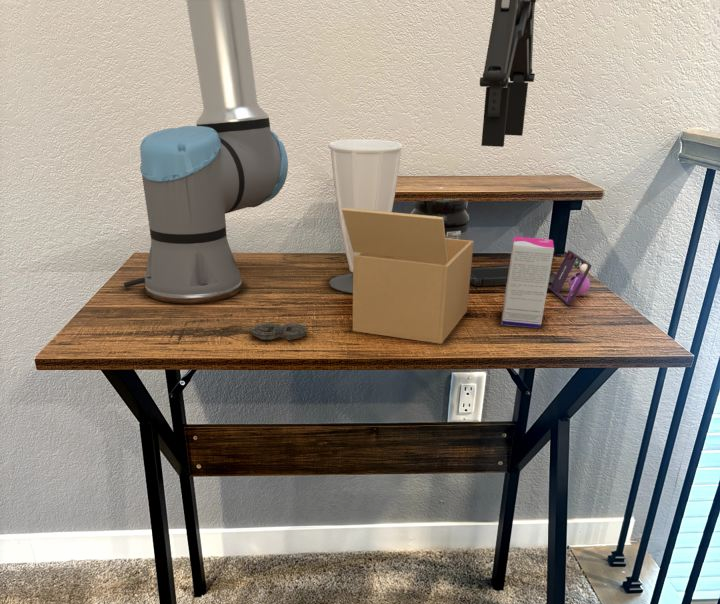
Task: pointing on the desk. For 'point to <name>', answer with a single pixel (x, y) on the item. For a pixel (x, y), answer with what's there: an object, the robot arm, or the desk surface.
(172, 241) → the robot arm
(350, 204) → the cup
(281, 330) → the corroded twin loop
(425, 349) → the desk surface
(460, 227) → the supplement container
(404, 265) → the carton
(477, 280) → the phone
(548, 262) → the supplement box
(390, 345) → the desk surface
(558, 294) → the purple monster toy box
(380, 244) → the flap
